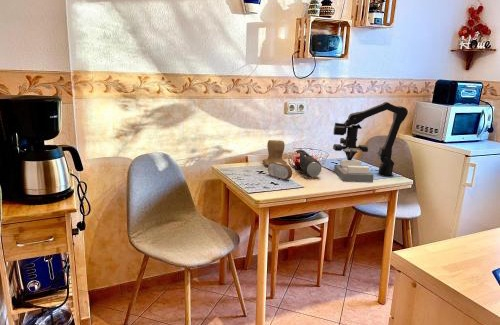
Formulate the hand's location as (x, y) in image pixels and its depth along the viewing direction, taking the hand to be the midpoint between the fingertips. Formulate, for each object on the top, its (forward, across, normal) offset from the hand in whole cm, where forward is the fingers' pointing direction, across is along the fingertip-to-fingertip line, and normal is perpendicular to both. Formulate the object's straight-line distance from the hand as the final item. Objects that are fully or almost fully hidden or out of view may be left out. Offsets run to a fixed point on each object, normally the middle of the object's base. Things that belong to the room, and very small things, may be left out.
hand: (348, 162), depth 216 cm
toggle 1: (+1, 0, +3) cm, 4 cm away
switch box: (+6, 0, +9) cm, 11 cm away
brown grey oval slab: (+6, +42, +16) cm, 45 cm away
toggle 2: (+1, 0, +16) cm, 16 cm away
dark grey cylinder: (+6, +25, +3) cm, 26 cm away
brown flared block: (+6, +42, -12) cm, 44 cm away
